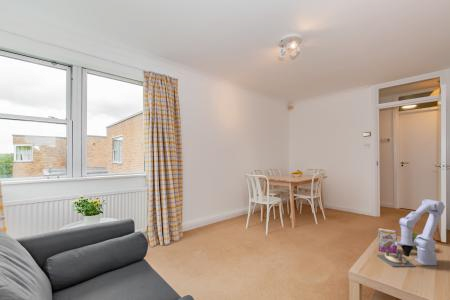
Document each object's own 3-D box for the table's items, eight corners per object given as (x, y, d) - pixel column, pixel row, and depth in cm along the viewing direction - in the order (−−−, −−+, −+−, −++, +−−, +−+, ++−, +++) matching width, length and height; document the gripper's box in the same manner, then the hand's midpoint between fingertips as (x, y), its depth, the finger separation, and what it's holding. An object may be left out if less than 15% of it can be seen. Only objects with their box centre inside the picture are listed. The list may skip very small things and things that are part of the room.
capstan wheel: (397, 255, 155) (396, 247, 155) (411, 263, 143) (411, 255, 143) (380, 255, 155) (380, 247, 155) (393, 263, 143) (393, 255, 143)
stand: (397, 255, 156) (397, 254, 156) (415, 267, 141) (415, 265, 141) (377, 255, 156) (377, 254, 156) (392, 267, 141) (392, 265, 141)
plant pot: (407, 250, 164) (407, 236, 164) (399, 244, 175) (399, 230, 175) (426, 252, 161) (426, 238, 161) (417, 245, 172) (417, 232, 172)
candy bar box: (378, 250, 164) (378, 229, 164) (378, 248, 168) (378, 227, 168) (397, 254, 158) (397, 232, 158) (396, 251, 162) (396, 230, 162)
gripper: (412, 233, 148) (412, 253, 148) (391, 233, 149) (391, 253, 149) (421, 237, 141) (421, 258, 141) (399, 237, 142) (399, 258, 142)
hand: (406, 255), depth 144 cm, fingers closed
